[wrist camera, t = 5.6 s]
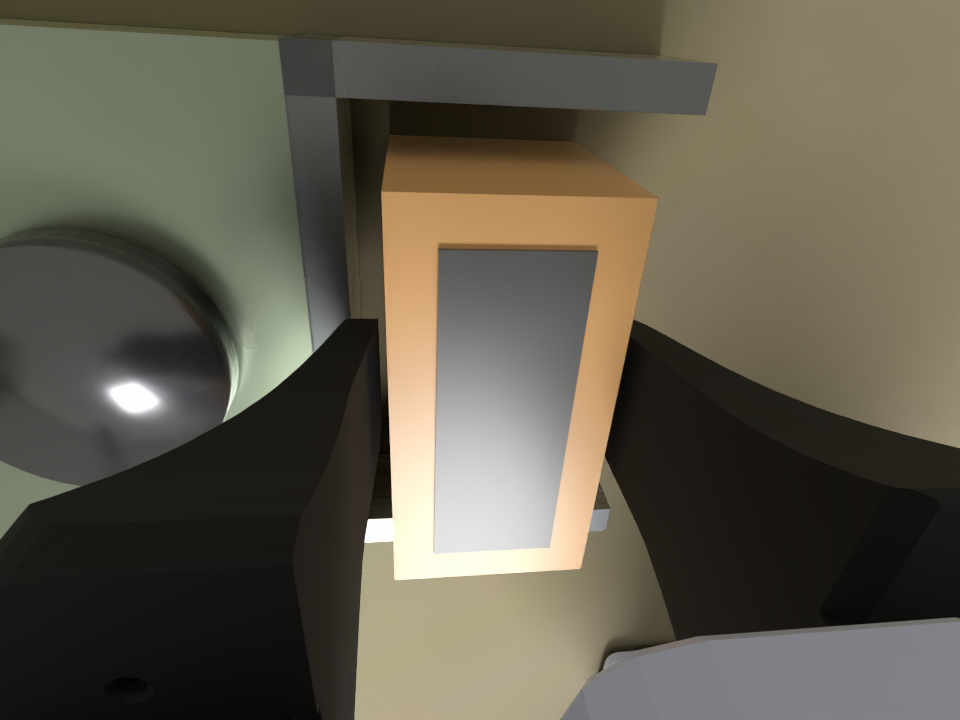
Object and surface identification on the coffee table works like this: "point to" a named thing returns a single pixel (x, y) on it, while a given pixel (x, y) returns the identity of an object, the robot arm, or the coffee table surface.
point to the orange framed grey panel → (503, 346)
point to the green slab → (211, 220)
